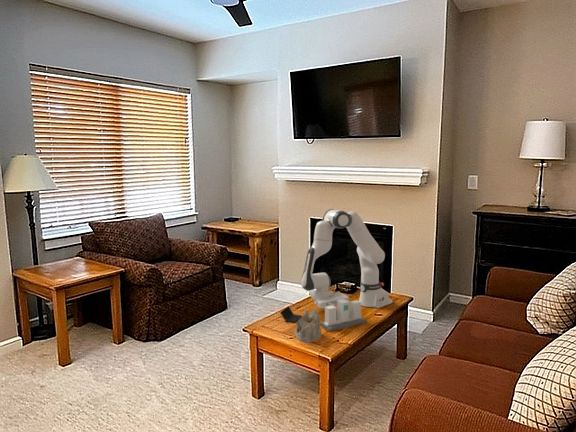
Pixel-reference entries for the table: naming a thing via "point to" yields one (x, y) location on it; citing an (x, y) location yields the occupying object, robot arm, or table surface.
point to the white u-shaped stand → (336, 324)
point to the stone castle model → (308, 327)
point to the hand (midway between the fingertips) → (340, 305)
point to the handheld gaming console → (290, 315)
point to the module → (343, 310)
